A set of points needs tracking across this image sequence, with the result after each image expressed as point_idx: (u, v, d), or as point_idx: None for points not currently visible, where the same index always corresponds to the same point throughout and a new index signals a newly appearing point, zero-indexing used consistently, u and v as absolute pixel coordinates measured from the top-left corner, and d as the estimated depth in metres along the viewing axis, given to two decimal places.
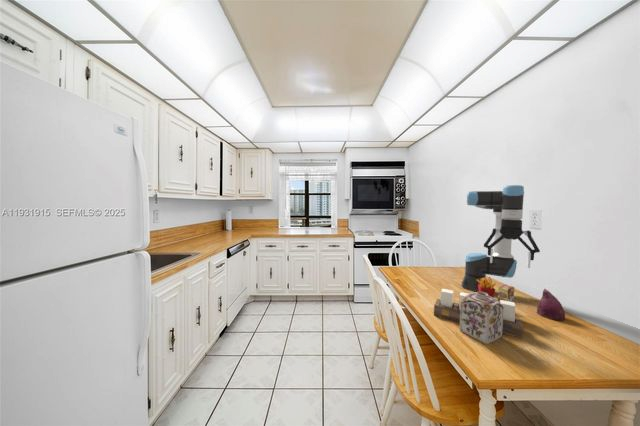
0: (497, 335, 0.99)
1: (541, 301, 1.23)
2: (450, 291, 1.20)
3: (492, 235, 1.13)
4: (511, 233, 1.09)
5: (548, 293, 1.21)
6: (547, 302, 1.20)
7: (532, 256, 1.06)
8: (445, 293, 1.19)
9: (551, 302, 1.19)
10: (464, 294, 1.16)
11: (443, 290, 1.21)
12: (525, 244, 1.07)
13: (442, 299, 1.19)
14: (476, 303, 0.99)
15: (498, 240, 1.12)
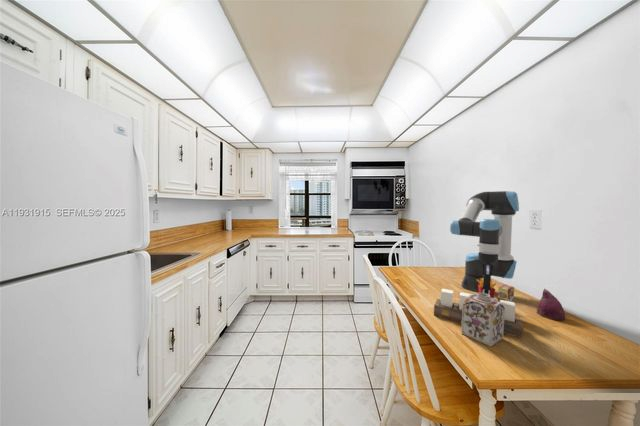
0: (499, 337, 0.98)
1: (541, 301, 1.23)
2: (450, 291, 1.20)
3: None
4: (484, 264, 1.11)
5: (548, 293, 1.21)
6: (547, 302, 1.20)
7: (484, 292, 1.10)
8: (445, 293, 1.19)
9: (551, 302, 1.19)
10: (464, 294, 1.16)
11: (443, 290, 1.21)
12: None
13: (442, 299, 1.19)
14: (479, 304, 0.97)
15: None
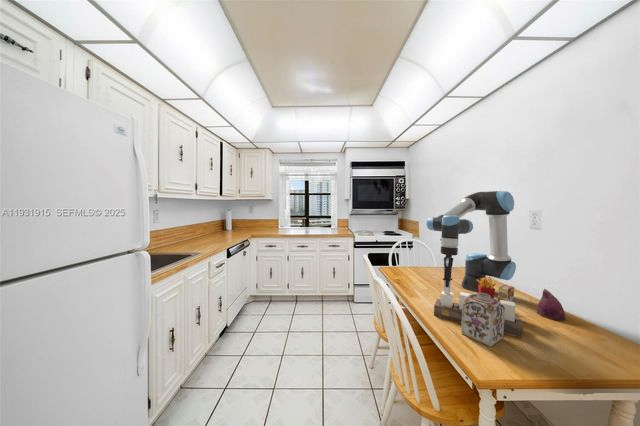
0: (499, 337, 0.98)
1: (541, 301, 1.23)
2: (450, 293, 1.20)
3: None
4: None
5: (548, 293, 1.21)
6: (547, 302, 1.20)
7: (445, 283, 1.19)
8: (445, 295, 1.19)
9: (551, 302, 1.19)
10: (464, 294, 1.16)
11: (443, 292, 1.21)
12: None
13: (442, 301, 1.19)
14: (479, 304, 0.97)
15: None
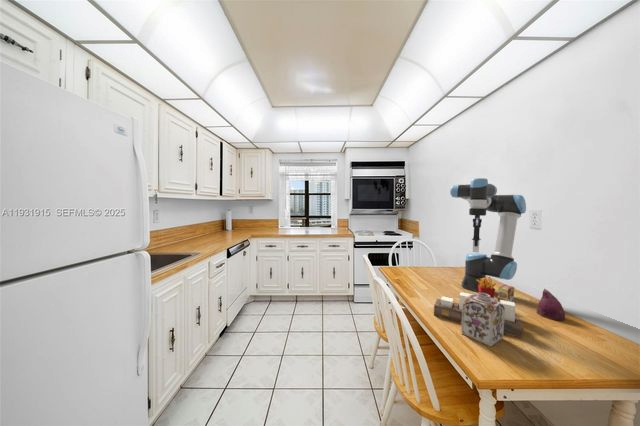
0: (499, 337, 0.98)
1: (541, 301, 1.23)
2: (450, 299, 1.20)
3: None
4: None
5: (548, 293, 1.21)
6: (547, 302, 1.20)
7: (474, 242, 1.27)
8: (445, 301, 1.19)
9: (551, 302, 1.19)
10: (464, 294, 1.16)
11: (443, 298, 1.21)
12: None
13: None
14: (479, 304, 0.97)
15: None
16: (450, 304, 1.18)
